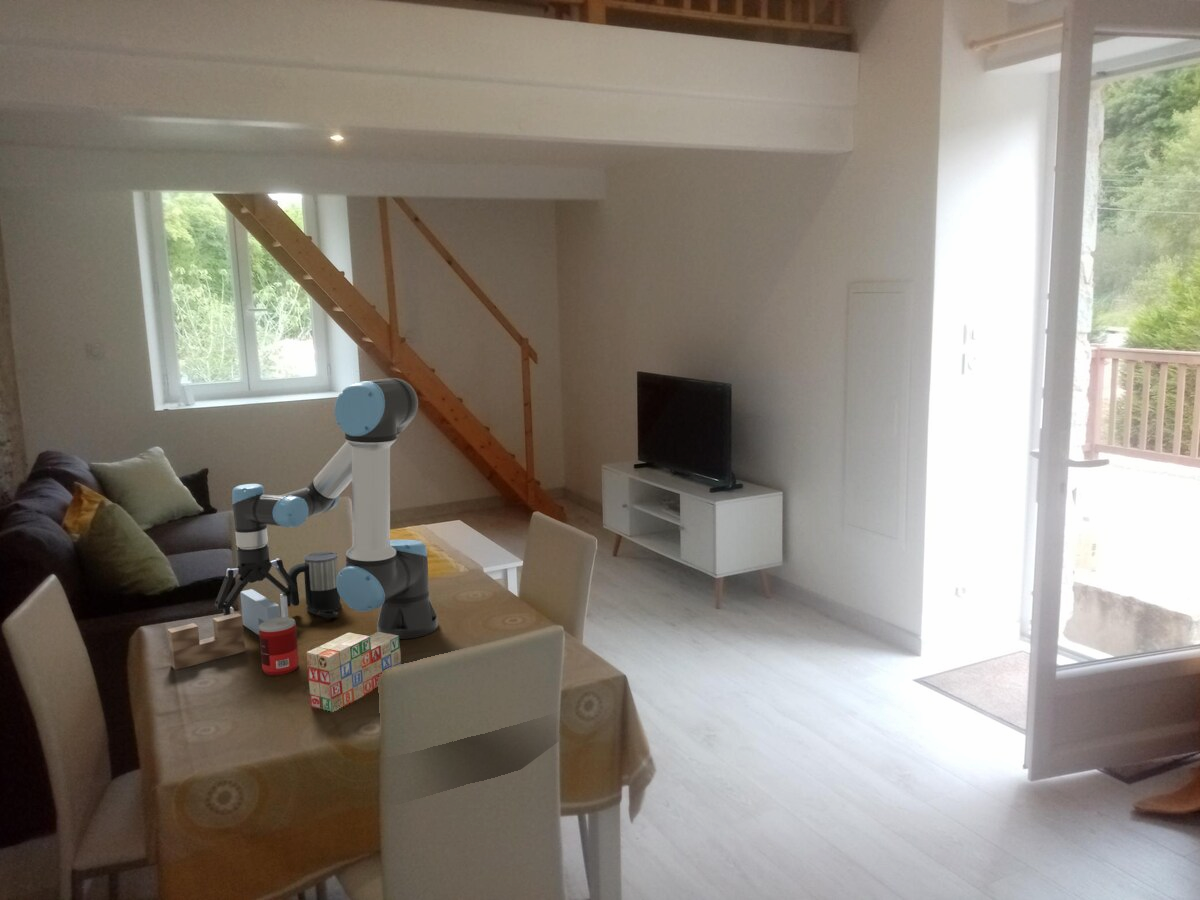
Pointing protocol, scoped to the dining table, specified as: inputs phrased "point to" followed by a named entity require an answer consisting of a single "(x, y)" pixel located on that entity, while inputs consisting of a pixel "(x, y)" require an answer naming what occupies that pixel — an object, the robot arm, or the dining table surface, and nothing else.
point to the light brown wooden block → (206, 642)
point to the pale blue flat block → (257, 609)
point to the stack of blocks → (349, 668)
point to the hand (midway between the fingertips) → (259, 625)
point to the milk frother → (318, 583)
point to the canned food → (278, 645)
